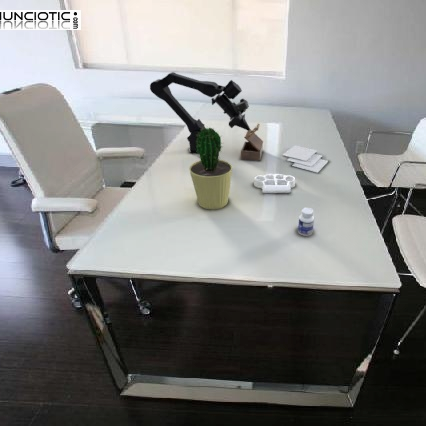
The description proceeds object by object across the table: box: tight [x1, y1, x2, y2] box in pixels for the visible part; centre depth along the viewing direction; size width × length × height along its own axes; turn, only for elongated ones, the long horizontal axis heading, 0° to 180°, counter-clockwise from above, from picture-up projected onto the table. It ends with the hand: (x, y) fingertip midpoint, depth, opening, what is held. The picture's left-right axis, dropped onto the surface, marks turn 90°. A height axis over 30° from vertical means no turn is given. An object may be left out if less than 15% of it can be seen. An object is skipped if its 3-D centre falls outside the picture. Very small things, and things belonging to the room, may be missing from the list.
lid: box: [244, 123, 264, 152], centre depth 159 cm, size 10×14×7 cm
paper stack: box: [282, 145, 329, 173], centre depth 165 cm, size 23×25×1 cm
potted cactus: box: [188, 125, 233, 210], centre depth 115 cm, size 15×15×30 cm
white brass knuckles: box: [253, 173, 296, 194], centre depth 137 cm, size 3×18×15 cm
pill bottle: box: [297, 207, 315, 237], centre depth 109 cm, size 5×5×9 cm
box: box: [240, 141, 264, 162], centre depth 164 cm, size 10×14×5 cm
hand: (249, 129), depth 157 cm, fingers closed
